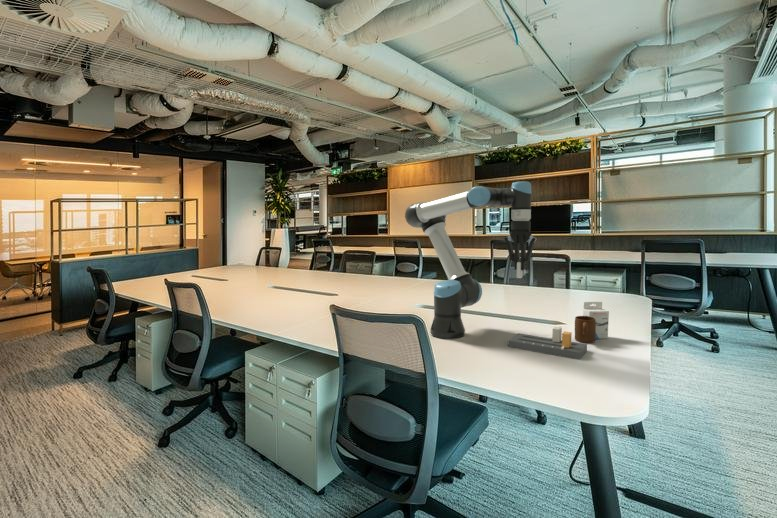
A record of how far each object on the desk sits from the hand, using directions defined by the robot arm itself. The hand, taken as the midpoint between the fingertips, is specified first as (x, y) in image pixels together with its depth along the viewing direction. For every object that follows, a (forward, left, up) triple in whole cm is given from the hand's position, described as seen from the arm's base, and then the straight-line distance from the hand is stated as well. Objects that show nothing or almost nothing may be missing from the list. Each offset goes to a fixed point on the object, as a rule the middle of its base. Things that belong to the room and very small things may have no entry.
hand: (519, 277), depth 158 cm
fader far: (+16, -3, -23) cm, 28 cm away
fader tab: (+20, -8, -23) cm, 32 cm away
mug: (+23, +11, -26) cm, 37 cm away
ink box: (+25, +21, -26) cm, 42 cm away
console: (+13, -6, -26) cm, 29 cm away
